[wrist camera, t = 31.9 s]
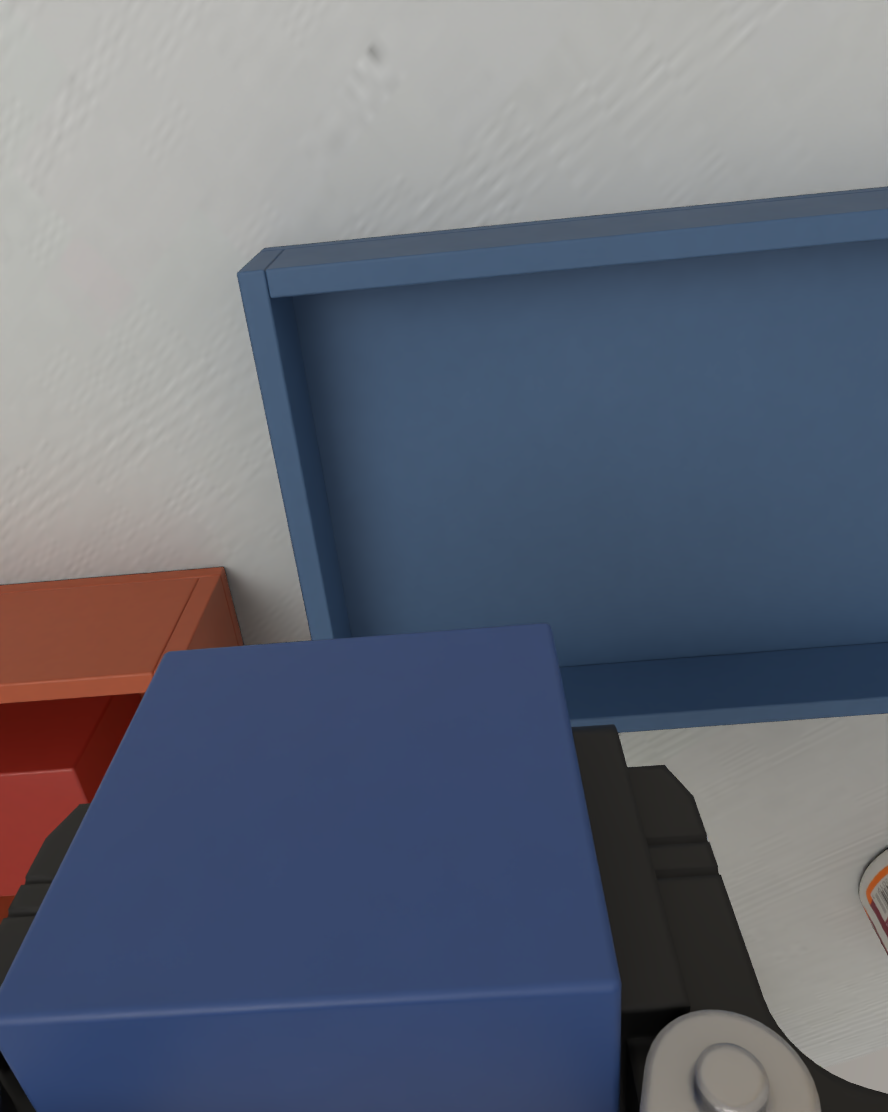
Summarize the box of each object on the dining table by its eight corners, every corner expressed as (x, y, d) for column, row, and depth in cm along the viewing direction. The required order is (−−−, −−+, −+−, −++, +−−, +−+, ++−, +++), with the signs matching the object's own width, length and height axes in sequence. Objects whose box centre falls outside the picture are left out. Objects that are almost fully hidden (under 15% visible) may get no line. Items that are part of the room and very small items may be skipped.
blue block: (243, 908, 12) (146, 1307, 8) (163, 648, 10) (-22, 1023, 6) (561, 888, 12) (618, 1287, 8) (551, 619, 10) (622, 987, 6)
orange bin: (-26, 842, 30) (-106, 972, 26) (-152, 596, 25) (-278, 705, 21) (288, 820, 29) (261, 949, 25) (224, 565, 24) (176, 671, 20)
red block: (33, 784, 28) (-33, 900, 24) (-16, 674, 26) (-99, 782, 22) (168, 774, 28) (122, 889, 24) (130, 663, 26) (73, 768, 22)
